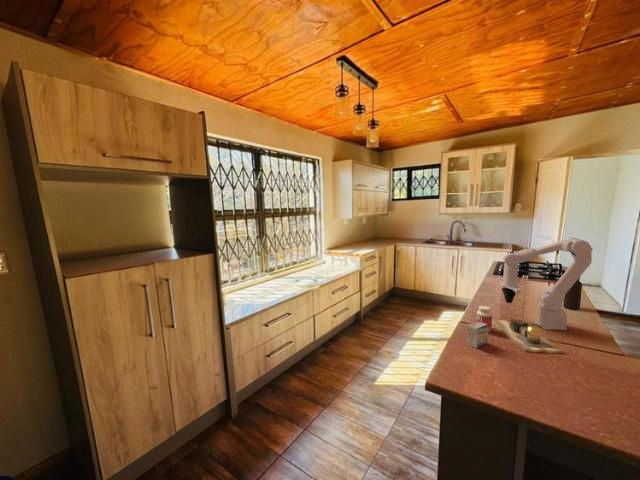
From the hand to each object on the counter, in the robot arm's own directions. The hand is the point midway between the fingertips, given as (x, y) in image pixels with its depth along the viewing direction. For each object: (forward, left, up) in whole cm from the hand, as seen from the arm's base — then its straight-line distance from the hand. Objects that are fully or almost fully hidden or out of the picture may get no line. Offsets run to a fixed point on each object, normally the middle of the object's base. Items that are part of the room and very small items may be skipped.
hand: (508, 302), depth 133 cm
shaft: (+3, +16, -8) cm, 18 cm away
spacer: (+3, +25, -8) cm, 26 cm away
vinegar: (-43, -19, -10) cm, 48 cm away
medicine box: (+26, +26, -10) cm, 38 cm away
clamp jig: (+3, +17, -9) cm, 20 cm away
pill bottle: (+17, +12, -10) cm, 23 cm away
